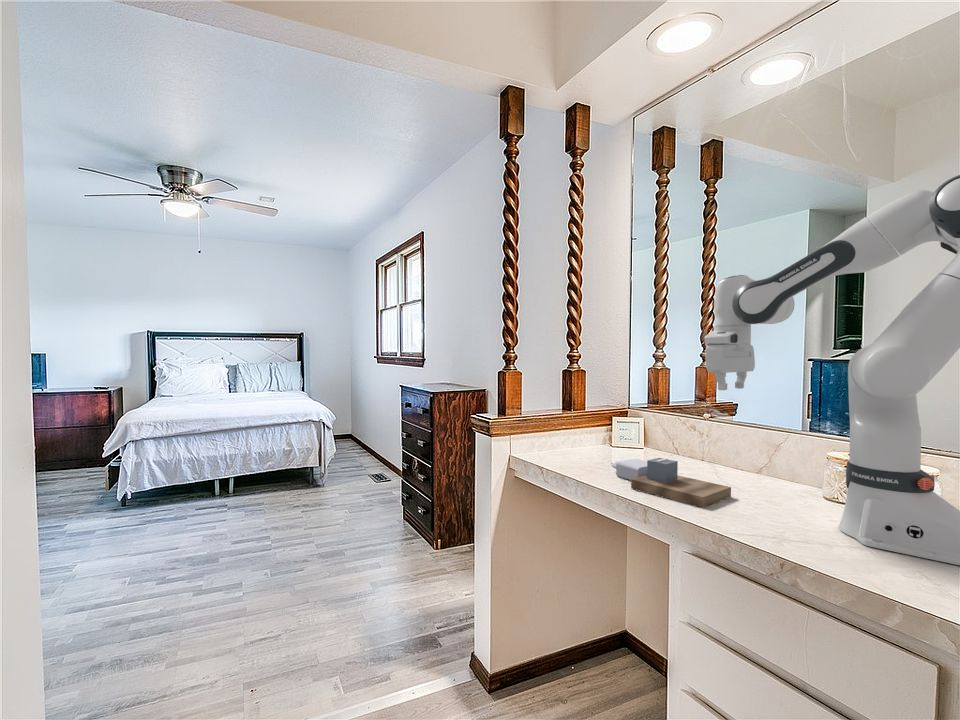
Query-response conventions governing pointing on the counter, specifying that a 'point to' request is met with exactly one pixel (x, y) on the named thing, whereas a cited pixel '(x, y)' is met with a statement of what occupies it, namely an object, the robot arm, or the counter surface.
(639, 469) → the charger
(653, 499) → the counter surface
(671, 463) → the blue-grey cube block
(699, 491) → the board
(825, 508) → the counter surface
